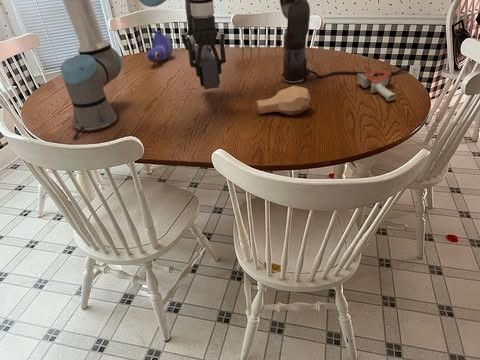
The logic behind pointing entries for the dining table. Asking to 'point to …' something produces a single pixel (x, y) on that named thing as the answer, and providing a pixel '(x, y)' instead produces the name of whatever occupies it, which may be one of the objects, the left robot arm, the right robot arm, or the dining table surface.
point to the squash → (286, 101)
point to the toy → (160, 47)
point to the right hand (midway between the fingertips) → (201, 58)
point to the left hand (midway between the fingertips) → (210, 83)
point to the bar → (208, 68)
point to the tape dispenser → (377, 83)
